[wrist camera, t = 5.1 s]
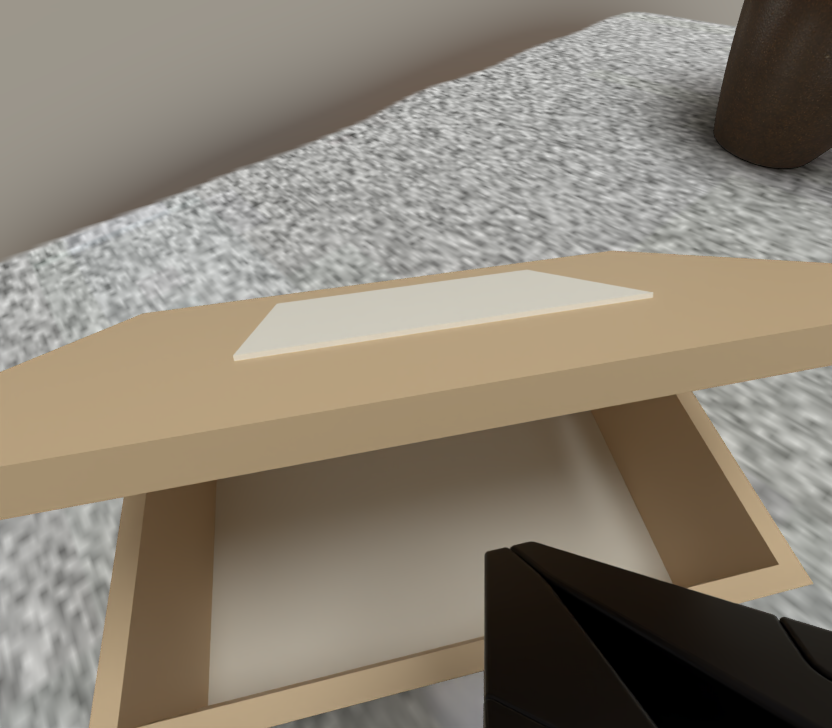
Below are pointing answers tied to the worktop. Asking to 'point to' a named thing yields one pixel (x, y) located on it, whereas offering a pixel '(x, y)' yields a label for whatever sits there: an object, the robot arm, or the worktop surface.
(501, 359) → the mailer lid
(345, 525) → the mailer box
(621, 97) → the worktop surface
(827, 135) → the plant pot
